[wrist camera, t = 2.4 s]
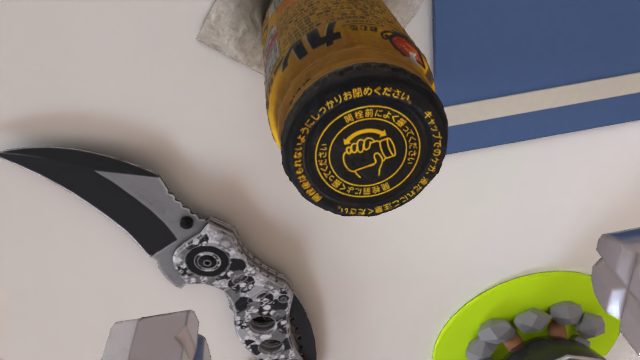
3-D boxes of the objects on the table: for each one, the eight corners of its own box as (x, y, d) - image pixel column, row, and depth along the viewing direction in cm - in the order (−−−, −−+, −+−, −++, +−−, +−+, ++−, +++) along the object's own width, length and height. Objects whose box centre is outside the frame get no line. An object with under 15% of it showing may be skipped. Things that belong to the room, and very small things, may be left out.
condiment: (340, 115, 28) (388, 267, 19) (196, 37, 25) (160, 170, 15) (423, -3, 25) (534, 103, 16) (271, -109, 22) (288, -60, 12)
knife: (-15, 160, 26) (160, 88, 25) (-1, 144, 28) (166, 75, 26) (240, 432, 42) (357, 399, 40) (241, 413, 43) (355, 381, 42)
